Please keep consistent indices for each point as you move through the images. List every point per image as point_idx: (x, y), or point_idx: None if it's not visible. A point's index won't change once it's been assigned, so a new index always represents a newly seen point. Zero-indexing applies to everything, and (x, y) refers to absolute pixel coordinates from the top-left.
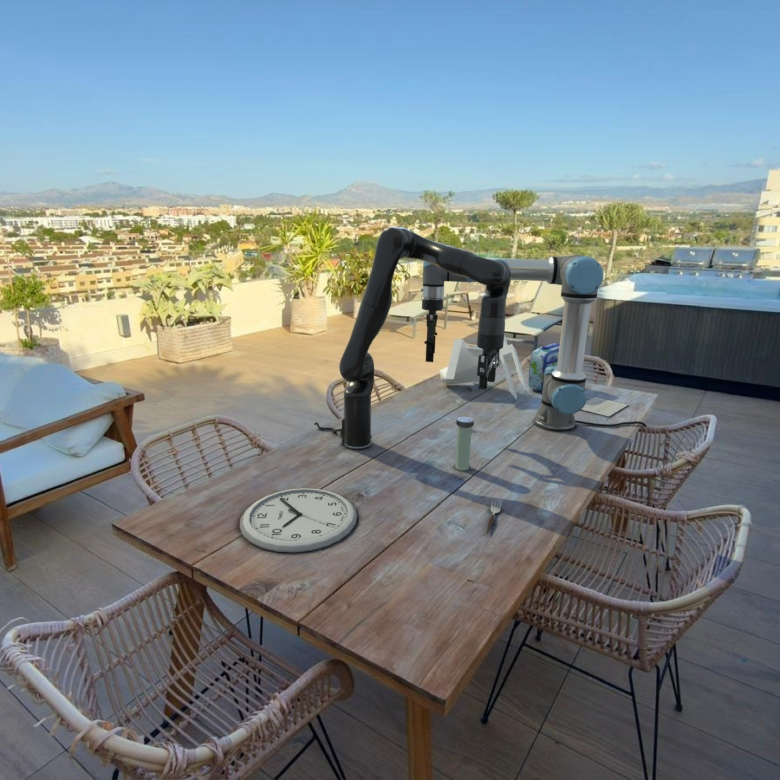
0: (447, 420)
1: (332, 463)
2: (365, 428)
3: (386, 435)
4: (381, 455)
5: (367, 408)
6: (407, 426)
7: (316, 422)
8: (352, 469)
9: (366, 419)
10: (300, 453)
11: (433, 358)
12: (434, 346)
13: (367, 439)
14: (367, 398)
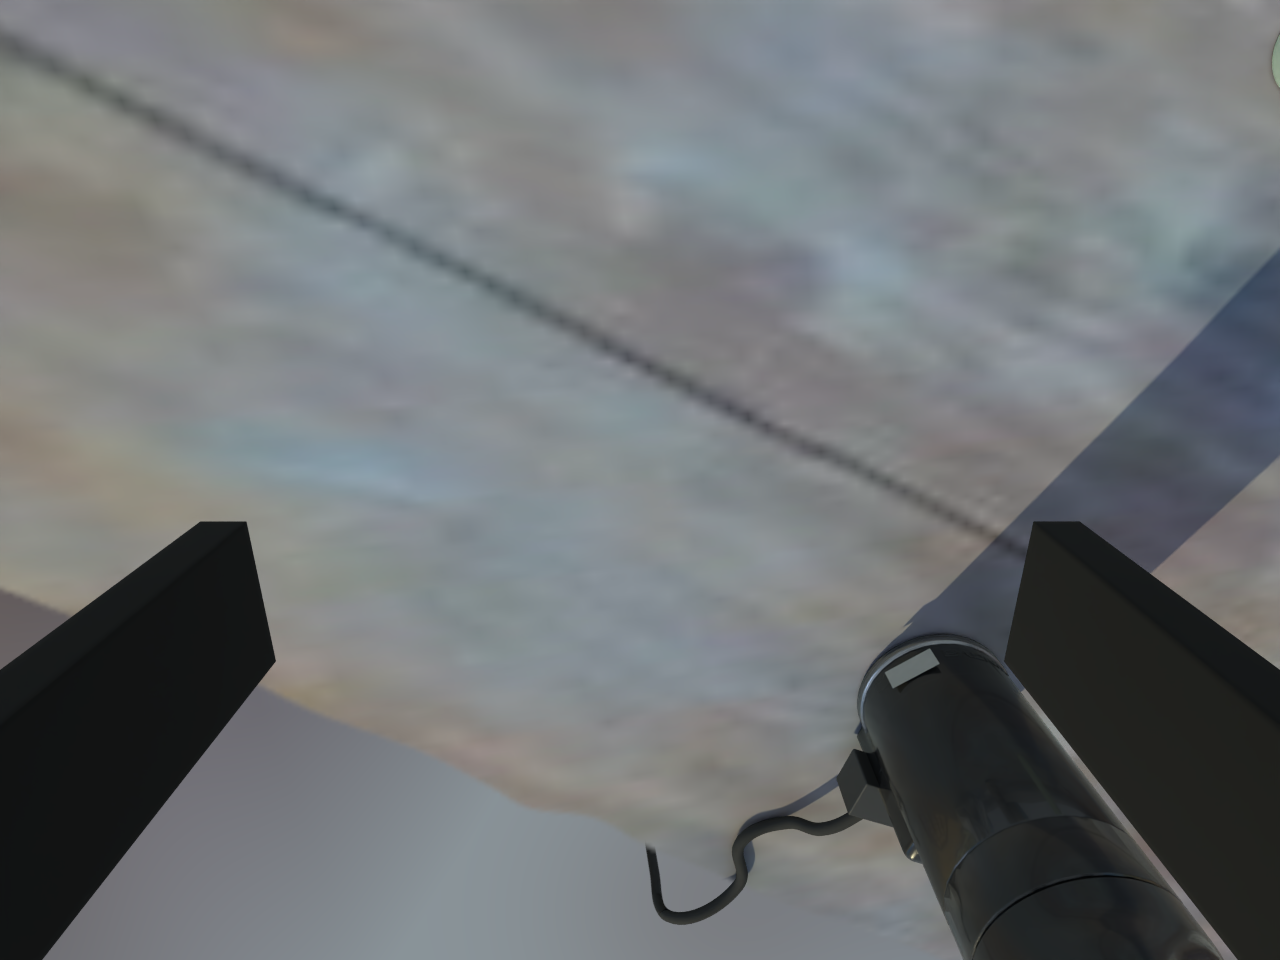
0: (419, 171)
1: None
2: (1051, 732)
3: (782, 570)
4: None
5: (1121, 831)
6: (609, 462)
7: (690, 923)
8: None
9: (1080, 772)
10: None
11: (1103, 556)
12: (150, 618)
13: (1002, 674)
14: (1177, 904)
